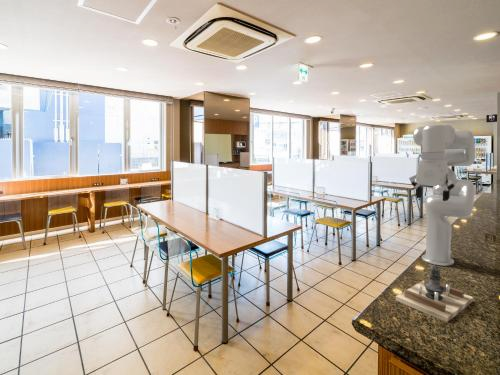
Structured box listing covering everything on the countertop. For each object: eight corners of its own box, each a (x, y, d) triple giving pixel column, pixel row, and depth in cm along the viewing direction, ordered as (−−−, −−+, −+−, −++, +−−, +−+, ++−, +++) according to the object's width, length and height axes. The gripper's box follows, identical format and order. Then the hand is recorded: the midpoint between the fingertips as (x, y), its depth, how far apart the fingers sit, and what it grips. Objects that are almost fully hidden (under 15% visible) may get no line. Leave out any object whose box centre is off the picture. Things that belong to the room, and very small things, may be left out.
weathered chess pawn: (420, 294, 97) (421, 262, 95) (431, 290, 99) (432, 259, 97) (436, 302, 91) (438, 268, 90) (448, 298, 93) (449, 265, 92)
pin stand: (423, 283, 107) (423, 270, 106) (472, 301, 94) (473, 286, 93) (395, 300, 96) (395, 285, 96) (447, 322, 83) (448, 305, 82)
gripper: (405, 157, 112) (405, 198, 115) (454, 157, 98) (452, 203, 100) (414, 156, 116) (414, 195, 119) (463, 155, 102) (461, 200, 104)
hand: (431, 199), depth 109 cm, fingers open, 9 cm apart
